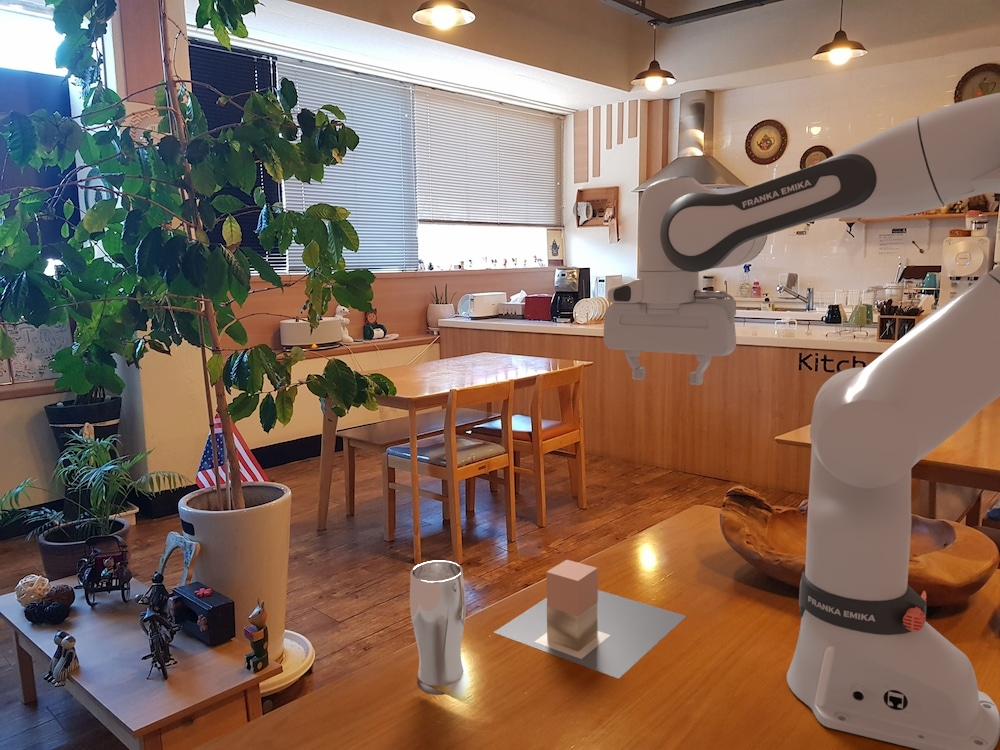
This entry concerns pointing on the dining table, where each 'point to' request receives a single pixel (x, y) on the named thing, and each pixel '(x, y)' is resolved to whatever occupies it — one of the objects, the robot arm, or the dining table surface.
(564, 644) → the maple block
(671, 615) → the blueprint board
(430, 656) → the beer glass
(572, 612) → the terracotta block
